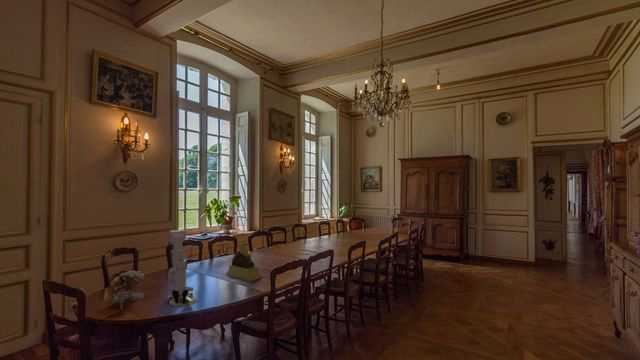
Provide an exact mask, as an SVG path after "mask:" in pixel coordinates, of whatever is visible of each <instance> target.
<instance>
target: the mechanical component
mask: <svg viewBox="0 0 640 360" xmlns="http://www.w3.org/2000/svg"><path fill="white" fill-rule="evenodd" d="M132 293H133V290H132V291H125V292H120V293H119V295H116V294H114V293H113V294H111V299H112V300H114V301H119V303H118V304H119V310H120V311H123V310H124V303H125V302H124V299H128V298H130V295H131V294H132ZM125 294H127V295H126V296H125ZM115 298H119V299H115ZM123 302H124V303H123Z"/></svg>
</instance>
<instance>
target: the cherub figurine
mask: <svg viewBox="0 0 640 360" xmlns="http://www.w3.org/2000/svg"><path fill="white" fill-rule="evenodd" d="M144 277H146V276H145V274H143V273H142V271H139V270H138V271H137V270H128V271H126V272H122V273H120V274H119V276H116V277H114V278H113V284H114V285H115V286H116V287H115V288H114V290H115V291H116V292H117V294H116V296H118V295H119V293H120V292H125V291H132V294H131V295H130V298H128V299H124V302H123V304H124V303H135V302H137V301H139V300H143V298H144V295H145V294H144V293H143V292H133V288H136V286H138V285H139V284H141V281H143V280H144V279H145V278H144ZM126 295H127V294H125V296H126ZM115 299H119V298H115ZM109 302H110V303H112V304H115V303H116V304H120V303H119V301H114V300H113V299H111V300H109Z"/></svg>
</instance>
